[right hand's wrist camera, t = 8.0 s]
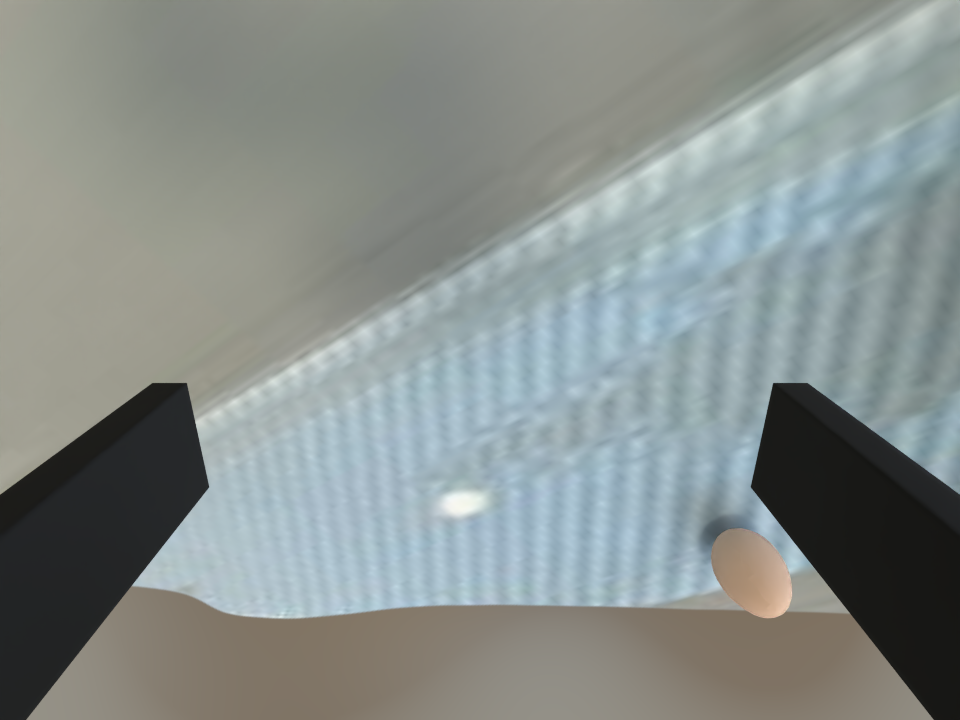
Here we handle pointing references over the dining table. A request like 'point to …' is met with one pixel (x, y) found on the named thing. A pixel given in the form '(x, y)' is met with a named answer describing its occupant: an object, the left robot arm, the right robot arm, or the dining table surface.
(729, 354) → the dining table surface
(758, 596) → the egg
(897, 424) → the dining table surface
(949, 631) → the right robot arm
